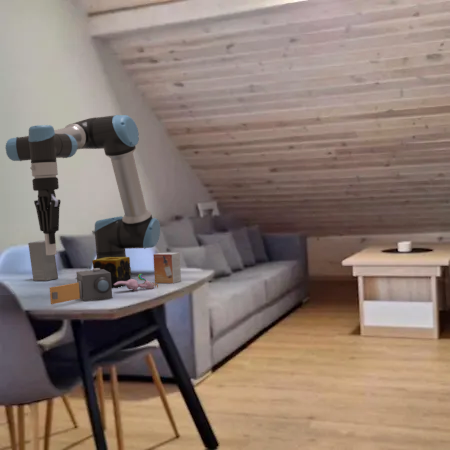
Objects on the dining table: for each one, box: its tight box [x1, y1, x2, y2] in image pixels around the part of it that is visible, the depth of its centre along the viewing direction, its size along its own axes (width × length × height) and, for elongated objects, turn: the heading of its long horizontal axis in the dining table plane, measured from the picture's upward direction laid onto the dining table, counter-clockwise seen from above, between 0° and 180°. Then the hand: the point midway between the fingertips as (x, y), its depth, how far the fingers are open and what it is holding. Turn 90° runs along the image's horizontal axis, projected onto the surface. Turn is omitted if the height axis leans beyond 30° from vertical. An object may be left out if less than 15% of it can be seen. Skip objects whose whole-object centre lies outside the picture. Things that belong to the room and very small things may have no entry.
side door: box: [49, 281, 82, 305], centre depth 202 cm, size 11×2×5 cm, turn 139°
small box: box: [153, 252, 182, 284], centre depth 237 cm, size 8×6×10 cm
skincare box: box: [27, 240, 59, 282], centre depth 264 cm, size 8×7×16 cm
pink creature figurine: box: [114, 273, 159, 292], centre depth 223 cm, size 6×6×15 cm
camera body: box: [75, 268, 113, 302], centre depth 212 cm, size 14×9×9 cm, turn 21°
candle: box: [91, 256, 132, 289], centre depth 236 cm, size 10×10×10 cm
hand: (51, 254), depth 201 cm, fingers closed
